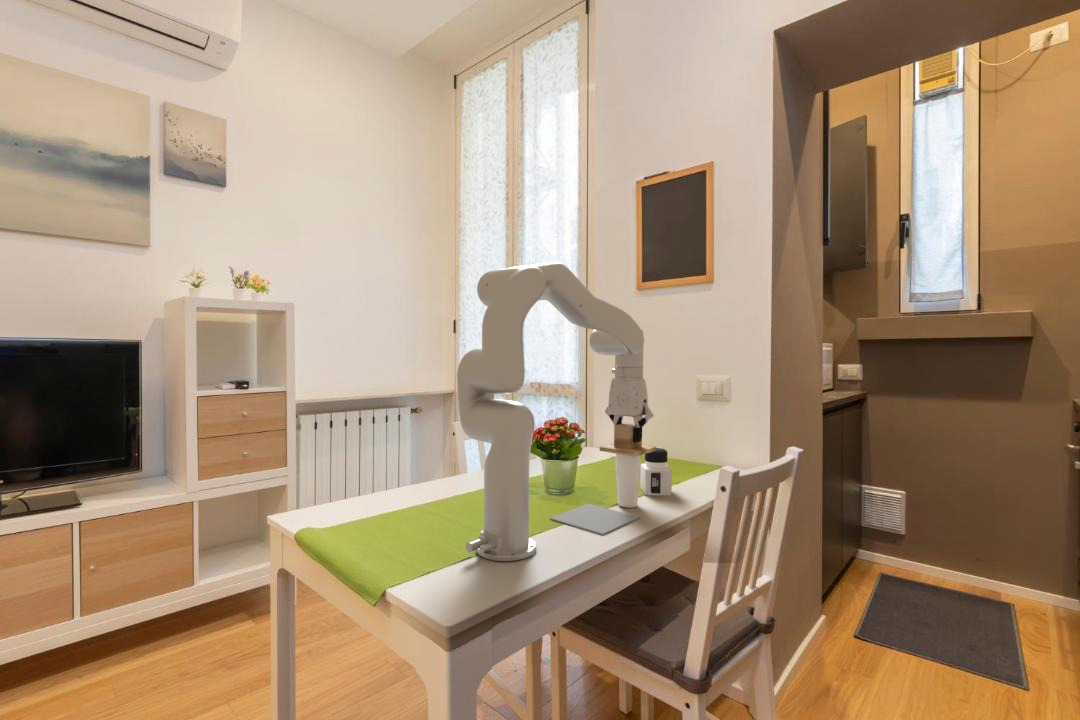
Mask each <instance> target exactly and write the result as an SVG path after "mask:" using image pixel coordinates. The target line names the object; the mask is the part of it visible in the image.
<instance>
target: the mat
mask: <svg viewBox="0 0 1080 720" xmlns="http://www.w3.org/2000/svg"><path fill="white" fill-rule="evenodd" d="M639 518H641V517H640V516H638V515H633V514H629V513H626V512H622V511H619V510H615V509H612V508H607V507H603V506H599V505H596V504H591V503H587V504H583V505H581V506H578V507H576V508H573V509H570V510H567V511H565V512H562V513H559V514H557V515H554V516H551V517H550V518H549V520H550V519H551V521H554V522H557V523H560V522H561V523H562V524H563V523H564V524H565V525H568V526H570V527H574V528H577V529H581V530H584V531H586V532H590V533H594V534H597V535H601V536H604V535H607V534H609V533H611V532H614V531H616V530H617V529H620V528H621V527H624V526H626V525H629V524H630V523H633V522H635V521H638V520H639ZM561 523H560V524H561ZM564 524H563V525H564Z"/></svg>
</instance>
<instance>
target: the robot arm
mask: <svg viewBox="0 0 1080 720" xmlns="http://www.w3.org/2000/svg"><path fill="white" fill-rule="evenodd" d="M476 292H477V296H478V298H479V300H480V301H481V303H482V304H483V305H485V306H486V310H485V312H484V315H483V318H482V325H481V348H475V349H472V350H469V351H468V352H466V353H465V354H464V355H463V356H462V358H461V360H460V362H459V363H458V368H457V371H456V372H457V373H456V379H457V380H456V381H457V384H456V385H457V395H458V397H457V398H458V400H457V401H458V413H459V422H460V426H461V429H462V431H463V432H464V434H465V435H466V436H467V437H469V438H471V439H472V440H474V441H478V442H482V443H483V442H484V443H487V444H488V443H489V444H491V446H490V448H489V451H488V454H487V455H486V458H485V461H484V465H483V466H484V467H483V479H484V481H483V483H484V484H483V529H482V530H481V531H479V536H478V537H477V539H474V540H471V541H468V542H466V543H465V549H466V551H467V552H468V553H472V552H474V551H476V554H478V555H479V556H480V557H481V558H484V559H487V560H490V561H495V562H512V561H513V562H515V561H521V560H524V559H527V558H530V557H531V556H532V555H534V554H535V553H536V551H537V542H536V541H535V540H533V539H532V538H531V537H530V461H531V459H530V458H531V448H532V443H533V442H532V441H533V439H534V438H533V437H534V433H535V426H536V424H535V418H534V417H535V416H534V414H533V413H532V410H531V409H530V408H529V407H528V406H526V405H525V404H523V403H521V402H519V401H517V400H516V401H515V400H508V399H503V398H499V399H498V398H495V395H496V394H497V395H512V394H516V393H517V392H518V391H520V390H521V389H522V387H523V386H524V383H525V377H526V375H525V374H526V373H525V372H526V370H525V352H524V323H525V320H526V318H527V317H528V314H529V312H530V311H531V309H532V308H533V307H534V306H535V305H536V304H537V302H539V301H547V302H548V303H550V304H551V305H552V306H553V307H554V308H555V309H556V310H557V311H558V312H559V313H560V314H561V315H562V316H563V317H564V318H565V319H566V320H567V321H568V322H569V323H571V324H573V325H575V326H577V327H580V328H583V329H584V328H585V329H589V330H593V331H592V332H591V334H590V335H589V340H588V341H589V342H588V343H589V347H590V348H591V350H593V352H594V353H596V354H598V355H603V356H614V368H612V369H611V373H612V374H614V377H612V378H611V382H610V387H609V392H608V404H607V407H606V409H605V410H604V412H605V414H606V415H607V416H608V417H609V419H610V420H611V422H612V424H613V426H614V425H618V424H623V421H624V417H630V418H631V417H632V419H633V424H635V427H634V429H633V442H634V443H637V442H641V439H642V440H643V428H644V426H645V425H646V424H647V423H648V421H650V420H651V419H652V418H654V413H653V412H652V410H651V409H650V406H649V399H648V389H647V382H646V379H645V378H644V345H645V337H644V335H645V334H644V331H643V329H641V327H640V325H639V324H638V323H637V322H636V320H634V318H633V317H632V316H631V315H629V314H628V313H627V312H626V311H625V310H623V309H621V308H619V307H617V306H615V305H613V304H611V303H609V302H607V301H605V300H603V299H600V298H598V297H596V296H595V295H593V293H592V292H591V291H590V290H589V289H588V288H587V287H586V286H585V285H584V284H583V283H582V281H581V280H580V279H579V278H578V277H577V276H576V275H575V274H574V273H573V272H572V271H571V270H570V268H569V267H568V266H567V265H565V264H563V263H562V262H557V261H550V262H549V261H548V262H542V263H536V264H530V265H519V266H518V265H517V266H511V267H507V268H506V267H505V268H500V269H493V270H489V271H487V272H485V273H484V274H483V275H481V276H480V278H479V280H478V282H477V287H476ZM643 416H644V417H643Z"/></svg>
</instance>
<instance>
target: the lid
mask: <svg viewBox="0 0 1080 720" xmlns="http://www.w3.org/2000/svg"><path fill="white" fill-rule="evenodd" d="M613 427H614V428H613V433H614V434H613V443H611V444H606V445H602V446H599V452H605V453H610V454H615V455H616V454H621V455H627V456H633V457H636V456H639V455H641V456H642V455H645V454H646V453H650V452H653V451H656V448H657V446H652V445H645V444H643V438H642V439H641V442H637V443H634V442H633V429H634V427H635V423H630V422H624V423H623V422H622V424H618V425H614V424H613Z"/></svg>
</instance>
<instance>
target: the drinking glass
mask: <svg viewBox="0 0 1080 720" xmlns="http://www.w3.org/2000/svg"><path fill="white" fill-rule="evenodd" d="M614 460H615V463H614V464H615V479H616V489H617V490H616V491H617V505H618V506H620V507H621V508H624V509H625V508H626V509H632V508H636V507H637V506H638V503H639V501H638V500H639V499H638V498H639V488H640V487H639V486H640V479H641V464H642V455H639V456H636V457H633V456H627V455H621V454H616V453H615V459H614Z"/></svg>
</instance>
